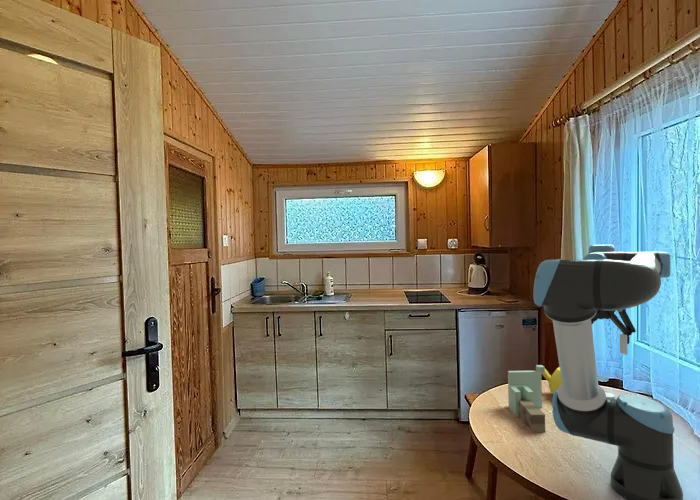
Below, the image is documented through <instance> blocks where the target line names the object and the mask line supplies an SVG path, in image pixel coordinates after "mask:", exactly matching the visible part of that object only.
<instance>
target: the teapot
mask: <svg viewBox="0 0 700 500" xmlns="http://www.w3.org/2000/svg"><path fill="white" fill-rule="evenodd" d="M541 376H542V377H544V379H545V380H546V381H547V382H548V388H549V390H550V391H551V394H552V395H553V394H554V392H555V391H556V390H557V389H558V388H559V386H560V385H561V384H562V380H561V373H560V366H558V367H557V368H556V369H555V370H554V372H553V373H551V374H550V373H549V371H548V370H547V369H546V368H545V372H541Z"/></svg>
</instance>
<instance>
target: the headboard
mask: <svg viewBox="0 0 700 500" xmlns="http://www.w3.org/2000/svg"><path fill="white" fill-rule="evenodd" d="M545 369H546V368H545V366H544V365H542V364H536V365H535V370H507V385H508V386H507V389H508V393H507V394H508V395H507V396H508V407H509V409H510V411H511V412H512V413H513V414H514V416H515V417H519V401H521V399H523V400H524V401H532V402H533V403H534V404H535V405H536V406H537V407H538V408H539V409H542V408H543V399H542V398H543V395H542V393H543V392H542V391H543V390H542V386H543V385H542V383H543V382H542V374H541V372H545Z"/></svg>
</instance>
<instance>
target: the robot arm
mask: <svg viewBox="0 0 700 500" xmlns="http://www.w3.org/2000/svg"><path fill="white" fill-rule="evenodd" d="M615 249H616V248H615V246H614V245H613V244H591V245H589V246H588V251H587V252H588V253H587V254H586V255H584V257H583V258H582V259H562V258H557V259H546V260H545V259H544V260H543V261H541V262H540V263H539V265H538V267H537V270H536V273H535V277H534V283H533V291H532V292H533V294H532V295H533V302H534V305H536V306H538V307H543V309H544V311H543V312H544V314H545V316H546V317H547V318H548V319H550V320H551V321H552V325H553V331H554V332H553V333H554V338H555V340H554V341H555V345H556V351H557V359H558V365H559V366H558V367H560V373H561V380H562V384H561V385H560V386H559V388H558V389H557V390H556V391H555V392H554V394H553V393H552V400H551V407H552V417H553V422H554V424H555V426H556V428H557V429H558V430H559V431H560V432H563V433H565V434H568V435H571V436H573V437H579V438H582V439H583V438H584V439H587V440H591V441H592V440H593V441H596V442H600V443H605V444H608V445H613V446H616V447H617V457H616V459H615V462H614V464H613V467H612V469H611V472H610V484H611V487H612V489H613V490H614V491H615V492H616V493H618V494H619V495H620V496H621V497H623V498H624V499H626V500H684V492H683V488H682V486H681V483H680V481H679V478H678V475H677V473H676V471H675V468H674V467H675V461H674V433H675V426H674V420H673V419H674V418H673V414H672V412H671V410H669V409H668V408H667V407H666V406H665V405H663V404H662V403H660V402H658V401H656V400H654V399H652V398H648V397H645V396H642V395H637V394H631V393H630V394H629V393H622V394H619V395H618V396H617V398H615V399H611V398H606V394H605V392H606V391H605V390H604V389H603V387H602V386H601V385H599V379H598V378H599V377H598V371H597V363H596V353H595V342H594V335H593V334H594V333H593V324H594V322H596V321H598V320H610V321H612V323H613V324H614V325H615V326H616V327H617V328H618V329H619V330H620V333H619V353H621V354H623V355H625V356H627V355H628V345H629V344H630V336H632V335H633V333H636V332H637V331H636V328H635V326H634V324H633V322H632V321H631V319H630V316H629V314H628V313H627V309H631V308H635V307H638V306H641V305H643V304H646V303H647V302H649V301H651V300H652V299H653V298H655V296H656V295H657V294H658V293H659V291H660V288H661V285H662V279H663V278H664V279H665V278H666V279H667V278H669V277H670V276H671V264H672V263H671V254H670V253H669V252H667V251H657V250H656V251H616V250H615ZM615 312H617V313H618V315H619V317H620V319H621V320H622V321H621V320H620V319H619V317H618V316H617V315H616V314H615ZM621 332H622V333H621Z"/></svg>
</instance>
